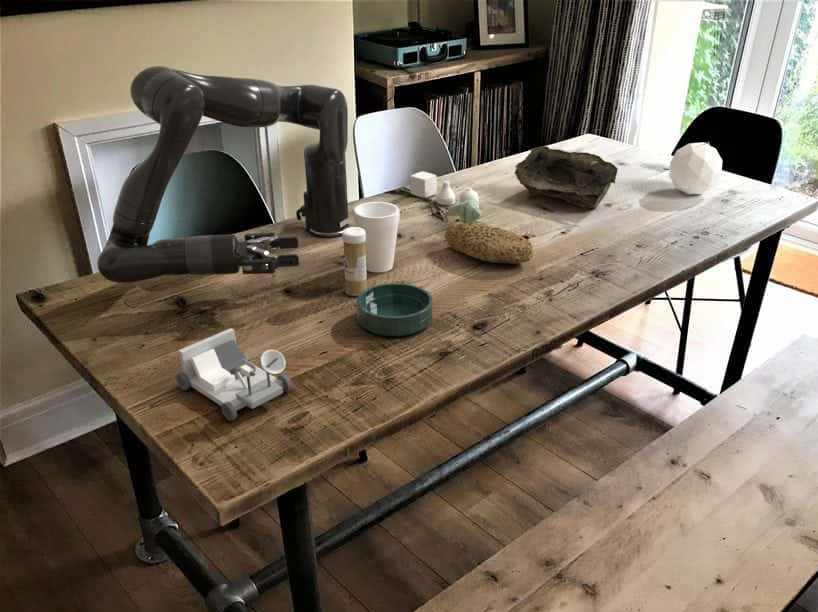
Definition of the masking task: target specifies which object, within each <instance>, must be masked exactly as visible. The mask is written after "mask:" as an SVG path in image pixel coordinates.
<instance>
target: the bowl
mask: <svg viewBox="0 0 818 612" xmlns="http://www.w3.org/2000/svg"><path fill="white" fill-rule="evenodd" d="M433 303H434V298H433V296H432V295H431V293H430V292H429V291H428V290H426V289H424V288H423V287H420V286H417V285H415V284H410V283H402V282H389V283H380V284H376V285H373V286H370V287H367V289H366V290H364V291H363V292H362V293H361V294H360V295H358V296H357V298H356V318H357V321H358V324H359V325H360V326H361V327H362V328H363V329H365V330H367V331H369V332H370V333H371V332H372V333H373V334H376V335H379V336H385V337H405V336H409V335H413V334H416V333H418V332H420V331H422V330H423V329H425V328H427V327H429V325H430V324H431V323H432V321H433V315H434V314H433V308H434V306H433V305H434V304H433Z"/></svg>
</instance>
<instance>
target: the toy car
mask: <svg viewBox="0 0 818 612" xmlns="http://www.w3.org/2000/svg"><path fill="white" fill-rule="evenodd" d="M178 355H179V360H180V366H181V371H180V372H178V373H177V374H176V375H175V377H176V378H175V379H176V383H177V385H178V386H179V388H180V389H181V390H182V391H188V390H190V389H191V387H192V388H193V389H194V390H196V391H197V392H199V393H200V394H202V395H204V396H206V397H207V398H208V399H210V400H211V401H213V402H214V403H216V404H218V405H219V406H220V408H221V412H222V415H223V416H224V417H225V419H226V420H227V421H230V422H231V421H234V420H236V419H237V417H238V412H237V411H239V410H241V409H243V408H245V407H248V408H250V409H252V410H253V409H255V408H257V407H259V406H260V405H263V404H265V403H267V402H269V401H270V400H272V399H274V398H276V397H278V396H280V395H282V394H283V393H288V392H291V390H292V389H293V383H292V380H291V378H290V377H289V376H288V375H287V374H285V373H282V372H283V371H284V369H285V368H286V363H287V362H286V358H285V356H284V354H282V353H281V351H278V350H276V349H268V350H265V351H264V352H263V353H262V354H261V357H260V364H261V367H262V368H260V367H259V366H257V365H255V364H254V363H252V362H250V361H248V360H247V359H246V355H245V352H244V351H243V350H242V349H241V348H240V347H238V345H237V337H236V331H235V329H233V328H232V327H231V328H228V329H225V330H223V331H221V332H219V333H216V334H214V335H211V336H209V337H207V338H205V339H201V340H200V341H198V342H195V343H193V344H191V345H188V346H185V347H183V348H181V349H179V350H178ZM280 373H281V374H280ZM278 374H279V375H278ZM274 375H278V376H277V377H275V376H274Z"/></svg>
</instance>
